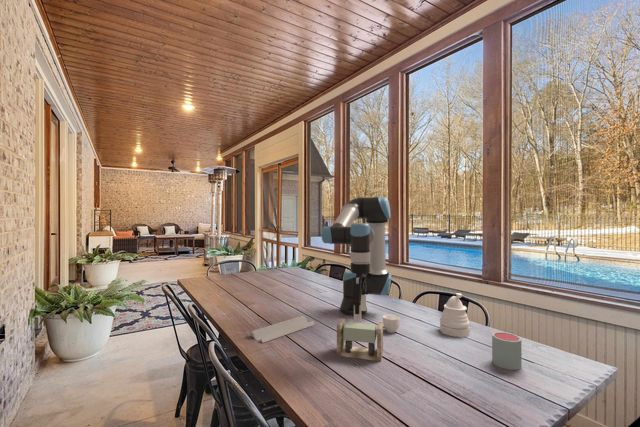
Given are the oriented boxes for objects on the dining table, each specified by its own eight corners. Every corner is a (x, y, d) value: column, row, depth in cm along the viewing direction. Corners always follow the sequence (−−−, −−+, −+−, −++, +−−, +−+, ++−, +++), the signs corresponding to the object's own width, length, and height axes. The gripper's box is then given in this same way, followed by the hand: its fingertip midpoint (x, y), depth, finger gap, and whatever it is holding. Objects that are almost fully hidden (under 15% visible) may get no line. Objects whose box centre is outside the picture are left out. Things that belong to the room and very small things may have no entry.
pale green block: (376, 337, 125) (376, 324, 125) (374, 343, 119) (374, 330, 119) (346, 334, 128) (346, 322, 128) (343, 340, 122) (343, 327, 122)
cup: (380, 331, 147) (380, 317, 147) (388, 325, 155) (388, 312, 155) (395, 335, 142) (395, 320, 142) (403, 329, 150) (403, 315, 150)
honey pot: (469, 329, 150) (469, 291, 150) (470, 339, 139) (470, 298, 139) (441, 325, 156) (440, 289, 156) (439, 334, 144) (439, 295, 144)
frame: (382, 352, 125) (382, 322, 125) (381, 361, 117) (381, 329, 117) (341, 347, 130) (341, 318, 130) (336, 355, 122) (336, 324, 122)
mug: (521, 372, 109) (521, 343, 109) (491, 365, 114) (491, 338, 114) (521, 357, 121) (521, 331, 121) (493, 351, 126) (493, 326, 126)
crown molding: (262, 345, 134) (262, 336, 134) (247, 337, 142) (247, 329, 142) (315, 326, 156) (315, 318, 156) (299, 320, 164) (299, 313, 164)
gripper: (356, 257, 137) (356, 305, 137) (344, 267, 113) (344, 326, 113) (373, 257, 135) (373, 307, 135) (365, 268, 111) (365, 328, 111)
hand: (360, 316), depth 124 cm, fingers open, 13 cm apart
